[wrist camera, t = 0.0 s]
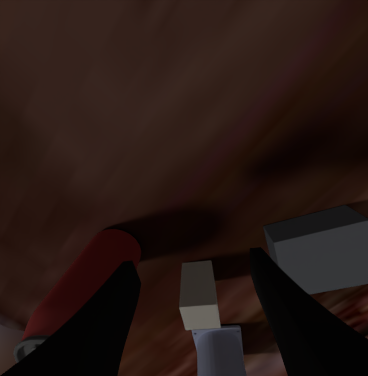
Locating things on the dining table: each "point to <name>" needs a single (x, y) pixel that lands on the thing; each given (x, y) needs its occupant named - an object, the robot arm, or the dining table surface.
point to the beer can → (78, 286)
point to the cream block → (198, 296)
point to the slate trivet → (322, 249)
